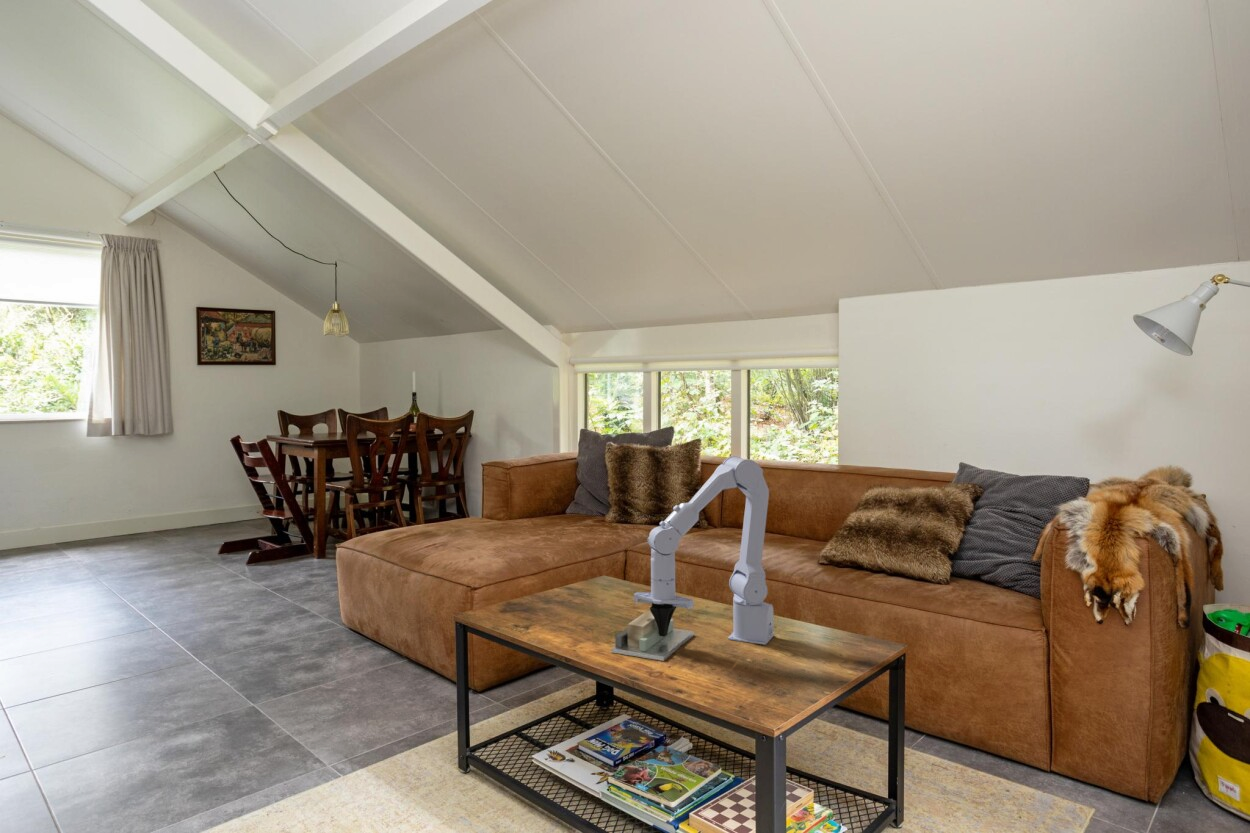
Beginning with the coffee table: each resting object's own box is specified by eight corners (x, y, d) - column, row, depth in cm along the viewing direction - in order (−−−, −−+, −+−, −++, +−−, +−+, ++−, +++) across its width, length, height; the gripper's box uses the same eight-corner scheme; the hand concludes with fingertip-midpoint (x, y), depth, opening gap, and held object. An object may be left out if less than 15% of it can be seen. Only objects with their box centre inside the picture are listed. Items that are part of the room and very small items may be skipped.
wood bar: (663, 632, 183) (663, 612, 183) (643, 647, 172) (643, 626, 172) (648, 630, 185) (648, 610, 185) (627, 645, 174) (627, 624, 174)
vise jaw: (673, 629, 185) (673, 619, 185) (645, 651, 170) (645, 640, 170) (668, 628, 186) (667, 618, 186) (639, 650, 171) (639, 639, 170)
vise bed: (693, 635, 184) (693, 620, 184) (663, 661, 167) (663, 645, 167) (645, 628, 190) (645, 614, 189) (611, 652, 173) (611, 637, 172)
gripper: (628, 579, 176) (628, 635, 177) (685, 585, 170) (686, 644, 170) (640, 572, 182) (641, 627, 183) (696, 578, 176) (696, 635, 177)
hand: (663, 635), depth 177 cm, fingers closed
